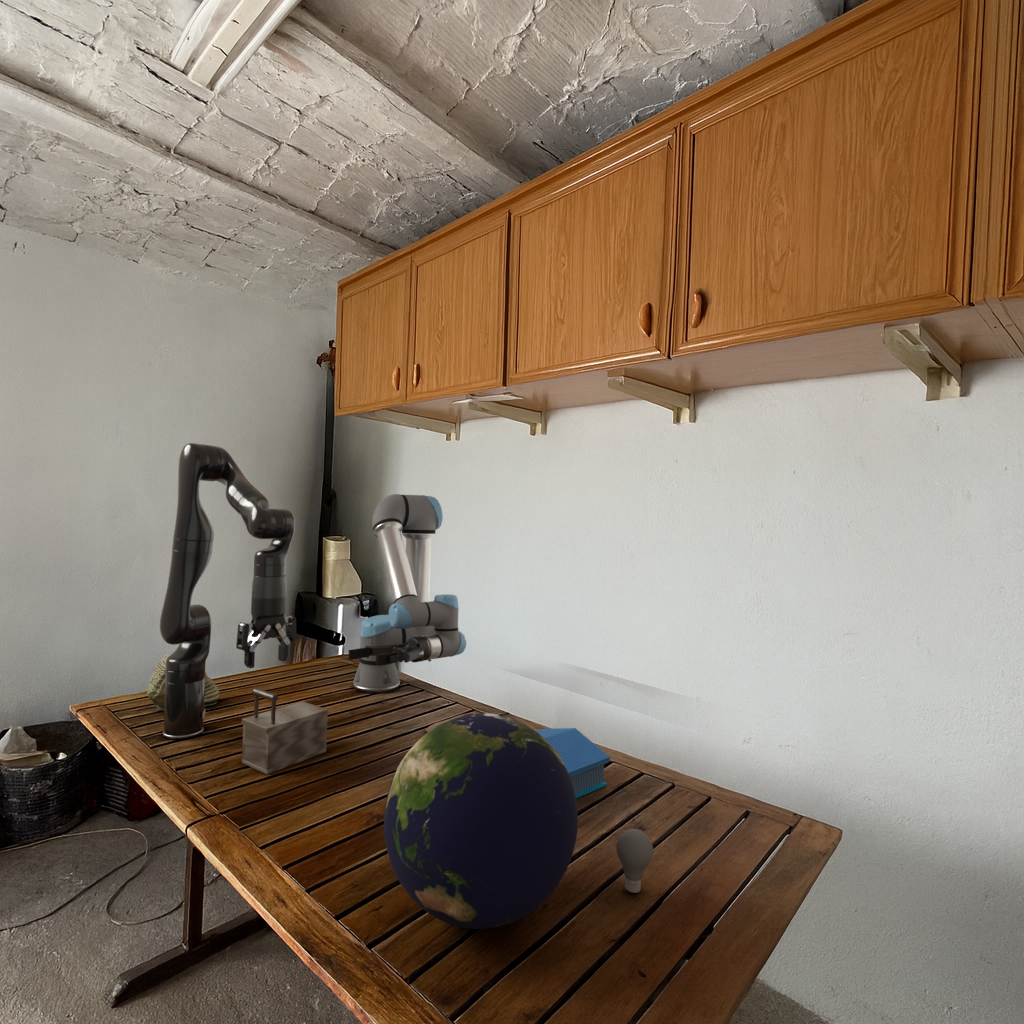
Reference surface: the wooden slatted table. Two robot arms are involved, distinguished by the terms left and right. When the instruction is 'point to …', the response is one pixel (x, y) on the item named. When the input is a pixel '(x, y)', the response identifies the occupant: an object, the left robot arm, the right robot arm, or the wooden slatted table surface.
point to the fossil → (158, 687)
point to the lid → (280, 713)
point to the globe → (480, 821)
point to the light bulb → (634, 857)
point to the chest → (284, 745)
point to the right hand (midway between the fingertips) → (362, 657)
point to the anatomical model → (446, 721)
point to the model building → (578, 758)
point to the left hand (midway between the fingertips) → (266, 663)
